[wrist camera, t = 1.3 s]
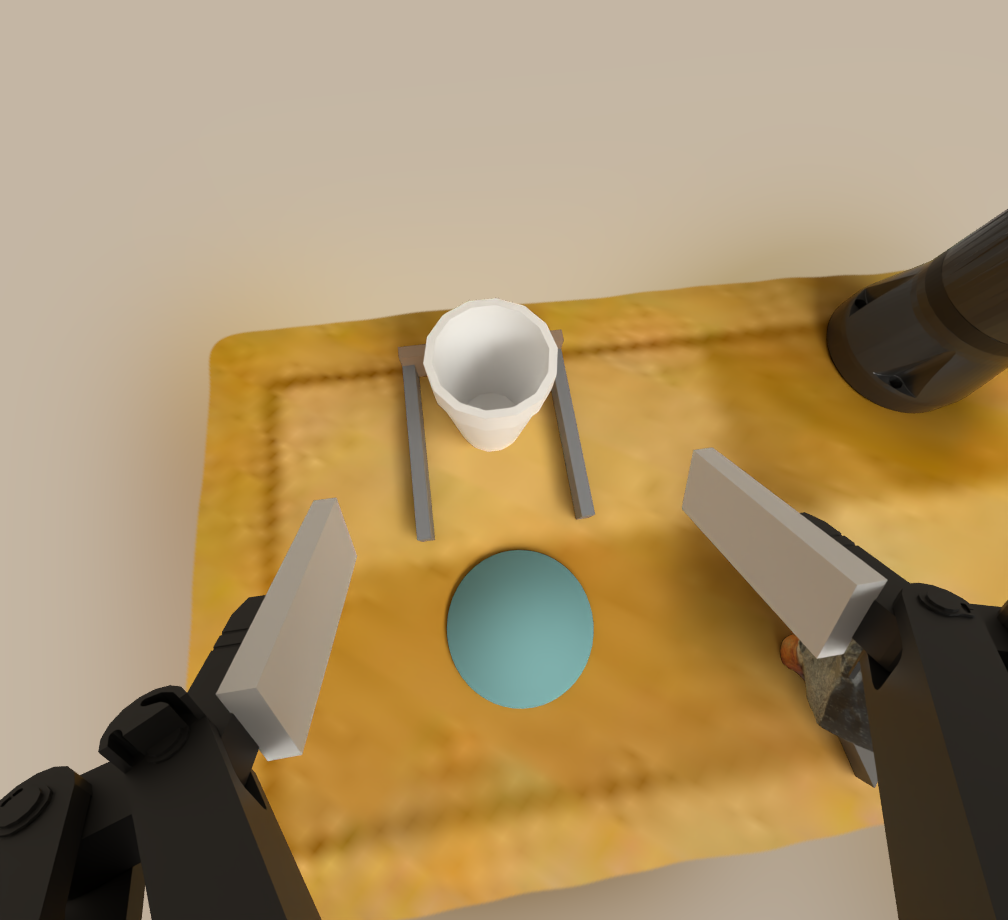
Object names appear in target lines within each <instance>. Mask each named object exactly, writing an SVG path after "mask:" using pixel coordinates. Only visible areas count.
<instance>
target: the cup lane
mask: <svg viewBox="0 0 1008 920" xmlns="http://www.w3.org/2000/svg"><path fill="white" fill-rule="evenodd" d="M550 333H551V335H552V337H553V339H554V341H555V343H556V345H557V347H558V354H557V375H556V378H555V381H554V384H553V387H552V389H551V391H552V397H553V402H554V407H555V412H556V417H557V423H558V428H559V433H560V438H561V443H562V448H563V454H564V459H565V464H566V469H567V474H568V480H569V485H570V490H571V495H572V500H573V506H574V511H575V516H576V519H583V518H589V517H591V516H593V515H595V512H594V507H593V502H592V497H591V492H590V487H589V482H588V478H587V473H586V468H585V463H584V458H583V453H582V448H581V444H580V439H579V434H578V429H577V424H576V419H575V414H574V410H573V405H572V400H571V395H570V390H569V385H568V380H567V376H566V371H565V366H564V361H563V356H562V351H561V347H562V344H563V341H564V339H563V335H562V330H553V331H550ZM425 348H426V344H423V345H414V346H405V347H398V354H399V360H400V362H401V364H402V368H403V380H404V391H405V403H406V415H407V426H408V438H409V449H410V461H411V473H412V484H413V496H414V508H415V519H416V531H417V540H419V541H421V542H424V541H431V540H435V535H434V525H433V515H432V504H431V494H430V484H429V474H428V463H427V453H426V443H425V433H424V422H423V412H422V402H421V391H420V381H419V377H421V376H427V373H426V370H425V367H424V364H423V362H424V355H425Z"/></svg>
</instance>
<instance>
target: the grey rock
mask: <svg viewBox="0 0 1008 920" xmlns="http://www.w3.org/2000/svg"><path fill="white" fill-rule="evenodd" d="M862 650H863V648H862V647H861V646H860V645H859V644H858V643H857V642H856V641H855V640H854V639H852V640H851V642H850V644H849V645H848V647H847V649H846V650H845V652H844V654H840V655H835V656H829V657H824V658H818V659H816V657H815V656H814V655H813V654H812V653H811V652H810V651H809V650H808V649H807V647H806V646H805V645H804V644H803V643H802V642H801V641H800V640H799V639H798V637H797V636H796V635H790V636H788V637H787V638H785V639H784V640H783V642H782V645H781V649H780V655H781V659H782V662H783V664H785V665H786V666H787V667H788V668H789V669H792V670H794V671H795V672H796V673H798V674H799V675H800V676H801V677H802V678H803V679H804V681H805V684H806V694H807V699H808V701H809V704H810V707H811V709H812V711H813V713H814V715H815V718H816V722H817V723H818V724H819V726H821V727H822V728H824V729H826V730H828V731H829V732H831V733H833V734H835V735H837V736H838V737H839V739H840V741H841V743H842V745H843V748H844V750H845V752H846V755H847V757H848V759H849V762H850V764H851V766H852V769H853V771H854V773H855V775H856V777H858V778H859V779H861V780H862V781H864V782H866V783H867V784H869V785H871V786H872V787H874V788H875V786H876V784H877V782H878V779H877V772H876V766H875V759H874V752H873V746H872V739H871V733H870V726H869V719H868V713H867V706H866V700H865V693H864V686H863V683H862V673H861V671H859V672H858V674H857V675H856V677H855V678H854V679H851V678H849V677H848V676H849V671H850V669H851V668H852V666H853V665H854V663H855V662H856V660H857V658H858V657H859V655H860V654H861V652H862Z"/></svg>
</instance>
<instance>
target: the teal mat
mask: <svg viewBox="0 0 1008 920" xmlns="http://www.w3.org/2000/svg"><path fill="white" fill-rule="evenodd" d="M447 638H448V645H449V649H450V653H451V656H452V659H453V661H454V664H455V666H456V668H457V670H458V671H459V673H460V675H461V676H462V678H463V679H464V680H465V681H466V683H467V684H468V685H469V686H470V687H471V688H472V689H473V690H474V691H475V692H476V693H478V694H479V695H481V696H482V697H483V698H485V699H487V700H489V701H491V702H493V703H495V704H498V705H501V706H504V707H510V708H522V709H523V708H533V707H537V706H540V705H544V704H546V703H548V702H551V701H553V700H554V699H556V698H558V697H559V696H561V695H562V694H563V693H565V692H566V691H567V690H568V689H569V688H570V687H571V686H572V685H573V684H574V683H575V682H576V680H577V679H578V677H579V676H580V675H581V673H582V671H583V669H584V668H585V666H586V663H587V661H588V658H589V655H590V652H591V648H592V642H593V617H592V612H591V608H590V604H589V601H588V599H587V596H586V594H585V592H584V590H583V588H582V586H581V585H580V583H579V582H578V580H577V579H576V578H575V576H574V575H573V574H572V573H571V572H570V571H569V570H568V569H567V568H566V567H564V566H563V565H562V564H561V563H559V562H558V561H556V560H555V559H553V558H551V557H549V556H547V555H544V554H541V553H538V552H533V551H528V550H513V551H506V552H502V553H499V554H496V555H493V556H491V557H489V558H487V559H485V560H483V561H482V562H481V563H479V564H478V565H476V566H475V567H474V568H473V569H472V570H471V571H470V572H469V573H468V574H467V575H466V576H465V578H464V579H463V580H462V582H461V583H460V585H459V586H458V588H457V590H456V592H455V594H454V596H453V599H452V602H451V605H450V608H449V613H448V620H447Z"/></svg>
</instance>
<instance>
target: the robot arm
mask: <svg viewBox="0 0 1008 920" xmlns="http://www.w3.org/2000/svg"><path fill="white" fill-rule="evenodd" d="M827 341H828V347H829V351H830V354H831V357H832V359H833V362H834V364H835V366H836V367H837V369H838V371H839V372H840V374H841V375H842V376H843V377H844V379H845V380H846V381H847V382H848V383H849V384H850V385H851V386H852V387H853V388H854V389H855V390H856V391H857V392H859V393H860V394H861V395H863V396H864V397H865V398H867V399H869V400H870V401H872V402H874V403H876V404H878V405H880V406H882V407H885V408H888V409H891V410H894V411H899V412H905V413H923V412H928V411H932V410H935V409H938V408H940V407H943V406H946V405H949V404H952V403H955V402H957V401H959V400H961V399H963V398H965V397H966V396H968V395H970V394H971V393H972V392H974V391H975V390H977V389H978V388H979V387H981V386H982V385H984V384H985V383H987V382H988V381H989V380H991V379H992V378H994V377H995V376H996V375H998V374H999V373H1001V372H1002V371H1004V370H1005V369H1006V368H1008V209H1007V210H1005V211H1004V212H1002V213H1001V214H999V215H998V216H997V217H995V218H994V219H992V220H991V221H989V222H988V223H986V224H985V225H983V226H982V227H980V228H979V229H977V230H976V231H974V232H973V233H972V234H970V235H968V236H967V237H965V238H964V239H962V240H961V241H959V242H958V243H956V244H955V245H954V246H952V247H951V248H950V249H948V250H947V251H945V252H944V253H942V254H941V255H939V256H938V257H936V258H935V259H933V260H931V261H930V262H927V263H925V264H922V265H920V266H917V267H914V268H912V269H909V270H907V271H904V272H902V273H899V274H897V275H894V276H892V277H889V278H887V279H884V280H882V281H879V282H876V283H874V284H871V285H869V286H867V287H865V288H863V289H862V290H860V291H859V292H857V293H856V294H854V295H853V296H852V297H850V298H849V299H848V300H846V301H845V302H844V303H842V304H841V305H840V306H839V307H838V308H837V309H836V310H835V312H834V313H833V315H832V317H831V319H830V322H829V325H828V331H827ZM682 510H683V511H684V512H685V513H686V514H687V515H688V516H689V517H690V519H691V520H692V521H693V522H694V523H695V524H696V525H697V526H698V527H699V529H700V530H701V531H702V532H703V533H704V534H705V535H706V536H707V537H708V539H709V540H710V541H711V542H712V543H713V544H714V545H715V546H716V547H717V549H718V550H719V551H720V552H721V553H722V554H723V555H724V556H725V557H726V559H727V560H728V561H729V562H730V563H731V564H732V565H733V566H734V567H735V569H736V570H737V571H738V572H739V573H740V574H741V575H742V576H743V577H744V579H745V580H746V581H747V582H748V583H749V584H750V585H751V586H752V587H753V589H754V590H755V591H756V592H757V593H758V594H759V595H760V596H761V597H762V599H763V600H764V601H765V602H766V603H767V604H768V605H769V606H770V607H771V609H772V610H773V611H774V612H775V613H776V614H777V615H778V616H779V617H780V619H781V620H782V621H783V622H784V623H785V624H786V625H787V626H788V627H789V629H790V630H791V631H792V632H793V633H794V634H795V635H796V636H797V637H798V639H799V640H800V641H801V642H802V643H803V644H804V645H805V646H806V647H807V649H808V650H809V651H810V652H811V653H812V654H813V655H814V656H815V657H816V659H818V658H824V657H829V656H835V655H840V654H844V652H845V650H846V649H847V647H848V645H849V644H850V642H851V640H852V639H854V640H855V641H856V642H857V643H858V644H859V645H860V646H861V647H862V648H863V650H862V652H861V654H860V655H859V657H858V658H857V660H856V662H855V663H854V665H853V666H852V668H851V669H850V671H849V676H848V677H849V678H851V679H854V678H855V677H856V675H857V674H858V672H859V671H861V673H862V683H863V686H864V693H865V700H866V706H867V713H868V719H869V726H870V733H871V739H872V746H873V752H874V759H875V766H876V772H877V779H878V786H879V792H880V799H881V805H882V812H883V819H884V825H885V832H886V839H887V844H888V851H889V858H890V865H891V872H892V878H893V885H894V891H895V898H896V904H897V911H898V918H899V920H1008V600H1007V602H1006V603H1005V604H1004V605H1003V606H1002V607H996V606H986V605H977V604H969V603H968V602H967V601H965V600H964V599H963V598H961V597H959V596H957V595H955V594H953V593H951V592H949V591H947V590H945V589H942V588H939V587H936V586H933V585H928V584H923V583H909V582H907V581H906V580H905V579H903V578H902V577H900V576H899V575H898V574H896V573H895V572H894V571H892V570H891V569H889V568H888V567H887V566H885V565H884V564H883V563H881V562H880V561H878V560H877V559H876V558H874V557H873V556H872V555H870V554H869V553H867V552H866V551H865V550H863V549H862V548H861V547H859V546H855V544H854V542H852V541H851V540H850V539H848V538H847V537H845V536H842V535H841V533H840V532H839V531H837V530H836V529H834V528H833V527H832V526H830V525H829V524H828V523H826V522H825V521H822V520H820V519H818V518H816V517H814V516H812V515H810V514H807V513H805V512H804V513H799V512H797V511H796V510H795V509H793V508H792V507H791V506H789V505H788V504H787V503H785V502H784V501H783V500H781V499H780V498H779V497H777V496H776V495H775V494H773V493H772V492H771V491H769V490H768V489H767V488H765V487H764V486H763V485H761V484H760V483H759V482H757V481H756V480H755V479H754V478H752V477H751V476H750V475H748V474H747V473H746V472H744V471H743V470H742V469H740V468H739V467H738V466H736V465H735V464H734V463H732V462H731V461H730V460H728V459H727V458H726V457H724V456H723V455H722V454H720V453H719V452H718V451H716V450H715V449H714V448H706V449H698V450H693V455H692V460H691V465H690V470H689V475H688V480H687V485H686V490H685V495H684V500H683V505H682ZM356 558H357V555H356V552H355V549H354V546H353V543H352V540H351V538H350V535H349V532H348V529H347V526H346V523H345V521H344V518H343V515H342V512H341V509H340V506H339V503H338V501H337V498H330V499H322V500H315V501H313V503H312V505H311V507H310V509H309V511H308V513H307V515H306V517H305V519H304V521H303V523H302V525H301V527H300V529H299V531H298V533H297V535H296V537H295V539H294V541H293V543H292V545H291V547H290V549H289V551H288V553H287V555H286V557H285V559H284V560H283V562H282V564H281V566H280V568H279V570H278V572H277V574H276V576H275V578H274V580H273V582H272V584H271V586H270V588H269V590H268V592H267V594H266V595H263V596H256V597H250V598H248V599H247V600H246V601H245V602H244V603H243V604H242V605H241V606H240V607H239V608H238V609H237V610H236V611H235V612H234V613H233V614H232V615H231V617H230V619H229V621H228V622H227V624H226V626H225V628H224V629H223V631H222V635H221V636H219V638H218V640H217V642H216V643H215V645H214V650H213V651H211V652H210V654H209V656H208V657H207V659H206V661H205V663H204V664H203V666H202V668H201V670H200V671H199V673H198V675H197V677H196V678H195V680H194V682H193V684H192V685H191V687H190V689H189V691H188V692H186V691H185V690H184V689H183V688H182V687H179V686H171V685H169V686H166V687H162V688H158V689H155V690H153V691H151V692H149V693H147V694H145V695H143V696H141V697H139V698H138V699H137V700H135V701H134V702H133V703H131V704H130V705H129V706H127V707H126V708H125V709H123V710H122V712H120V714H119V715H118V716H117V717H116V718H115V719H114V720H113V721H112V722H111V723H110V724H109V726H108V728H107V729H106V731H105V733H104V734H103V736H102V738H101V740H100V745H99V751H98V752H99V753H100V754H101V755H102V756H103V757H105V758H106V759H107V760H109V761H110V762H108V763H106V764H103V765H101V766H99V767H97V768H95V769H92V770H90V771H88V772H86V773H84V774H82V775H78V774H77V773H76V772H74V771H73V770H72V769H70V768H69V767H68V766H62V767H53V768H50V769H48V770H45V771H42V772H40V773H37V774H36V775H34V776H32V777H31V778H29V779H28V780H26V781H24V782H23V783H21V784H20V785H18V786H16V787H15V788H14V789H13V790H12V791H11V792H9V793H8V794H7V795H6V796H5V797H3V799H1V800H0V920H141V919H142V909H143V900H144V891H145V886H146V891H147V896H148V902H149V908H150V913H151V918H152V920H321V917H320V915H319V913H318V911H317V909H316V906H315V904H314V902H313V900H312V897H311V895H310V893H309V891H308V889H307V886H306V884H305V882H304V880H303V877H302V875H301V873H300V871H299V869H298V866H297V864H296V862H295V860H294V857H293V855H292V853H291V851H290V849H289V846H288V844H287V842H286V840H285V838H284V835H283V833H282V831H281V829H280V826H279V824H278V822H277V820H276V818H275V815H274V813H273V811H272V809H271V806H270V804H269V802H268V800H267V798H266V795H265V793H264V791H263V789H262V786H261V784H260V782H259V780H258V778H257V775H256V773H255V772H254V771H253V770H252V766H253V763H254V760H255V758H256V755H257V752H258V749H259V750H260V751H261V753H262V754H263V755H264V756H265V758H266V759H267V760H268V761H271V760H276V759H281V758H287V757H292V756H297V755H302V753H303V749H304V746H305V742H306V739H307V735H308V731H309V728H310V724H311V721H312V717H313V713H314V710H315V706H316V703H317V699H318V695H319V692H320V688H321V684H322V681H323V677H324V674H325V670H326V666H327V663H328V659H329V656H330V652H331V648H332V645H333V641H334V638H335V634H336V630H337V627H338V623H339V620H340V616H341V612H342V609H343V605H344V601H345V598H346V594H347V591H348V587H349V583H350V580H351V576H352V573H353V569H354V565H355V562H356Z"/></svg>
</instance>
